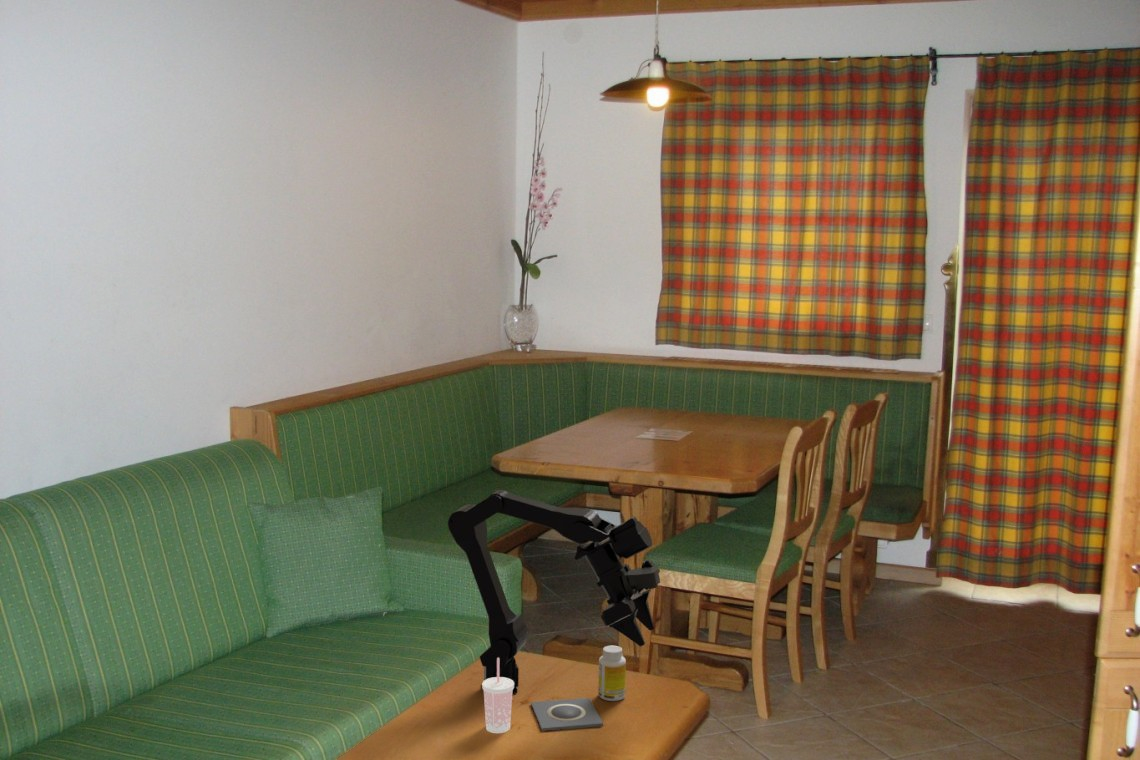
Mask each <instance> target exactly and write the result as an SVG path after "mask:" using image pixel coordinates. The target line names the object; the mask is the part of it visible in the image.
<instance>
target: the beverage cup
mask: <svg viewBox="0 0 1140 760" xmlns="http://www.w3.org/2000/svg"><path fill="white" fill-rule="evenodd" d="M499 662H500V658H497V677H492V678H488V679H486V680H484V679H483V681H482V683H481V685H482V687H481V688H482V691H483V700H484V702H483V703H484V715H485V717H484V718H485V719H484V720H485V728H486V731H487V732H489V733H492V734H504V733H507V732H509V731H510V729H511V721H512V720H511V719H512V706H513V705H512V704H513V693H512V692H513V688H514V682H513V680H511V679H509V678H505V677H499Z"/></svg>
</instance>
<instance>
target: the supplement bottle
mask: <svg viewBox="0 0 1140 760" xmlns="http://www.w3.org/2000/svg"><path fill="white" fill-rule="evenodd" d="M626 669H627V660H626V658H625V657H624V656H623V648H622V647H621V646H617V645H612V644H611V645H606V646H604V647H603V648H602V655H601V656H600V657H599V658H598V687H597V688H598V692H597V693H598V697H599V698H600V699H601V700H604V701H608V702H616V701H617V702H618V701H621V700H623V699H624V698H625V697H626V692H627V691H626V689H627V688H626V682H627V681H626V678H627V677H626V676H627V671H626Z"/></svg>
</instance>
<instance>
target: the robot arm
mask: <svg viewBox="0 0 1140 760" xmlns="http://www.w3.org/2000/svg"><path fill="white" fill-rule="evenodd" d="M496 514H501V515H506V516H508V517H512V518H516V519H517V520H518V519H519V520H522V521H526V522H529V523H532V524H536V525H540V526H543V527H546V528H550V529H552V530H554V531H556V532H557V533H558V534H559V535H560V536H562V537H563V538H566V539H567V540H569V541H572V542H573V543H575V544H578V545H577V546H576V552H575V555H574V557H573V558H574V560H575V561H578V560H579V559H581V558H583V557H585V559H586V560H587V562H588V564H589V566H590V567H591V569H592V571H593V572H594V574H595V576H596V579H597V581H596V585H597V587H598V588H600V587H602V588H603V590H604V592H605V594H606V596H607V600H606V603H607V604H608V605H607V606H606V607H604V609H603V611H602V612H601V615H600V619H601V621H602V622H603V624H604V625H605V626H606V627H609V628H612V629H614V630H616V631H617V632H619V633H621V634H622V635H624V636H625V637H626V638H628V640H629V639H630V640H631V642H633V643H635V644H636V645H637V646H639V647H643V646H645V644H646V642H645V640H644V637H643V634H642V631H641V629H640V627H639V624H638V621H639V622H640V623H641V624H642V625H643V626H644V627H645V628H646V629H647V630H648V631H653V630H654V629H655V625H654V621H653V617H652V613H651V609H650V605H649V597H650V593H651V590H653V589H657V588H658V587H659V584H661V579H660V572H661V571H660V568H659V567H658V565H657V564H656V565H655V563H654V562H653V560H652V559H648V560H644V561H643V562H642V565H641V567H637V568H634V569H632V568H631V567H630V565H629V564H627V563H624V564H623V562H622V561H621V559H620V558H624V559H625V560H628V559H629V558H630V559H631V558H632V557H634V556H636V555H637V554H640V553H641V552H644V551H646V550H647V549H649V548H651V547H652V546H653V540H652V537H651V535H650V534H651V533H650V531H649V530H648V529H647V527H645V526H644V525H643V523H642V522H641V521H640V520H638V518H637V517H636V516H635V515H633V516H631V517H629V518H628V519H627V520H626V521H624V522H622V523H620V524H618V525H616V524H614V523H612V522H610V521H608V520H606V519H604V518H602V517H600V515H599V513H598V512H597V511H595V510H594V509H590V508H584V507H583V508H582V507H576V506H575V507H562V506H556V505H552V504H548V503H545V502H542V501H538V500H535V499H531V498H528V497H524V496H520V495H518V494H514V493H511V492H508V491H506V490H504V489H497V490H496V491H495V492H493V493H491V494H490V495H489V496H488V497H486V498H485V499H483V500H481V502H479V503H477V504H473V503H469V504H465V505H463V506H462V507H460V508H458V509H457V510H456V511H454V512H453V513H451V514H450V515H449V518H448V520H447V528H448V531H449V533H450V535H451V536H452V538H453V540H454V542H455V544H457V545H458V547H459V548H460V549H461V550H462V551H463V552H464V553H465V555H466V557H467V560H468V564H469V566H470V569H471V572H472V575H473V577H474V580H475V583H476V586H477V590H478V591H479V594H480V597H481V601H482V602H483V605H484V609H485V611H486V614H487V617H488V639H489V643H490V646H489V647H488V648H487V649H486V650H484V652H483V653H482V654H481V655H480V656H479V660H480V663H481V666H482V667H483V681H484V680H486V679H488V678H492V677H497V658H500V662H499V677H505V678H509V679H511V680H513V682H514V688H513V692H512V694H517V693H518V687H519V671H520V670H519V669H520V668H519V667H518V664H517V661H516V658H515V656H517V654H518V652H520V650H521V649H522V648H523V647H524V646H525V644H526V643H527V640H528V632H529V629H528V627H527V626H526V623H525V619H524V615H523V614H522V613H521V612H520V613H518V614H517V615H516V613H514V612H513V610H512V609H511V608H510V606H509V603H508V599H507V598H506V594H505V592H504V590H503V589H504V588H503V587H502V586H503V585H502V584H501V581H500V578H499V575H498V572H497V569H496V566H495V564H494V560H493V558H492V555H491V552H490V550H489V547H488V526H487V520H488V519H489V518H491V517H493V516H494V515H496ZM636 619H637V620H638V621H637V620H636Z"/></svg>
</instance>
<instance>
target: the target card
mask: <svg viewBox="0 0 1140 760" xmlns="http://www.w3.org/2000/svg"><path fill="white" fill-rule="evenodd" d="M530 705H531V707H532V708H533V709H532V711H533V713H534V715H536V716H535V718H536V717H537V718H536V720H538V721H537V723H538V722H539V723H538V725H539V727H541V728H540V730H541V732H547V731H546V730H552V731H561V730H560V729H564V730H573V729H585V728H586V729H588V728H598V727H604V722H603V719H602V718H601V716H600V715H599V713H598V711H597V710H596V709H597V708H595V706H594V704H593V701H592V700H591V699H590V697H580V698H579V697H578V698H568V699H555V700H553V699H552V700H543V701H542V700H541V701H531V702H530Z"/></svg>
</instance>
